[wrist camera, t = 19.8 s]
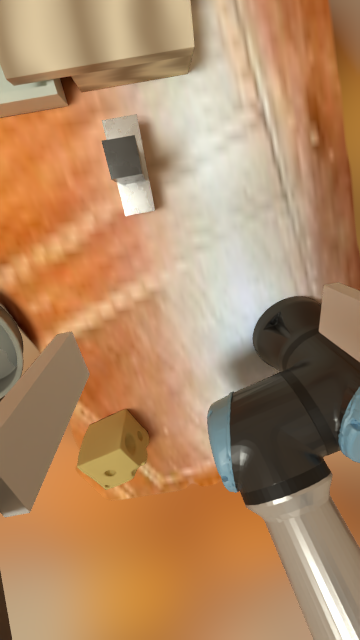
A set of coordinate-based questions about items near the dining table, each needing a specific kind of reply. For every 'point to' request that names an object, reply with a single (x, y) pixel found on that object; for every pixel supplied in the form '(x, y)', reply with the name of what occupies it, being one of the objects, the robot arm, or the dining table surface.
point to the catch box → (30, 96)
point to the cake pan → (9, 353)
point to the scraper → (128, 163)
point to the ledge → (95, 41)
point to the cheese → (113, 449)
